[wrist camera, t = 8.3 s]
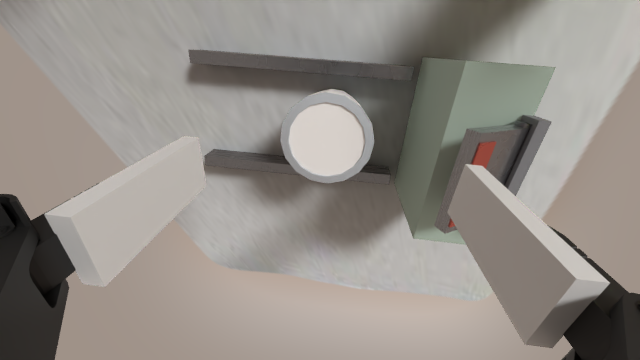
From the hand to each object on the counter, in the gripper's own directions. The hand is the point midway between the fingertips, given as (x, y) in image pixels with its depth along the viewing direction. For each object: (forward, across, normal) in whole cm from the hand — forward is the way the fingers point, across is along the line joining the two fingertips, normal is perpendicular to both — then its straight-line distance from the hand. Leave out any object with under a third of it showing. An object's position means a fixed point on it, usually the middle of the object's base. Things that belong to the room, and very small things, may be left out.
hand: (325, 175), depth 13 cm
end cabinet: (+13, +9, -1) cm, 16 cm away
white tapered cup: (+13, 0, -1) cm, 13 cm away
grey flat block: (+3, +9, -1) cm, 9 cm away
